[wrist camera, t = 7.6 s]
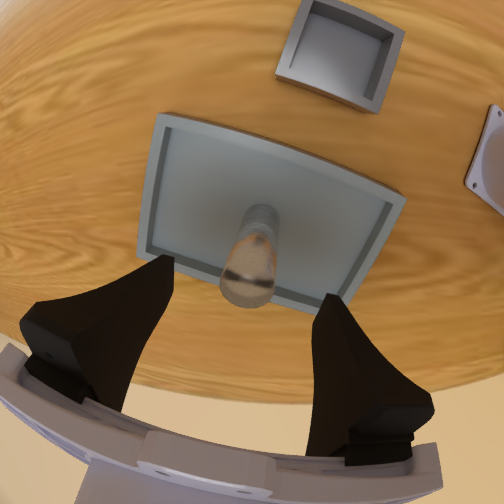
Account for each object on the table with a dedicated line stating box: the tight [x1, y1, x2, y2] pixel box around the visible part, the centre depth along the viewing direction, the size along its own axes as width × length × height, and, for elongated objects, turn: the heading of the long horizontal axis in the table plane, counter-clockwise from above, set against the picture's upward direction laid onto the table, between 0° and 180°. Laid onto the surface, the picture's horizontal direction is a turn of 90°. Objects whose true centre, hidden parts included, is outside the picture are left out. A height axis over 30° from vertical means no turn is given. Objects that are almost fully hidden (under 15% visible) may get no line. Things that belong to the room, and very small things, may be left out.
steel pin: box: [219, 204, 280, 308], centre depth 16 cm, size 3×3×8 cm
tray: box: [136, 112, 407, 315], centre depth 19 cm, size 18×12×2 cm, turn 73°
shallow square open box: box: [275, 0, 405, 114], centre depth 12 cm, size 6×6×3 cm
